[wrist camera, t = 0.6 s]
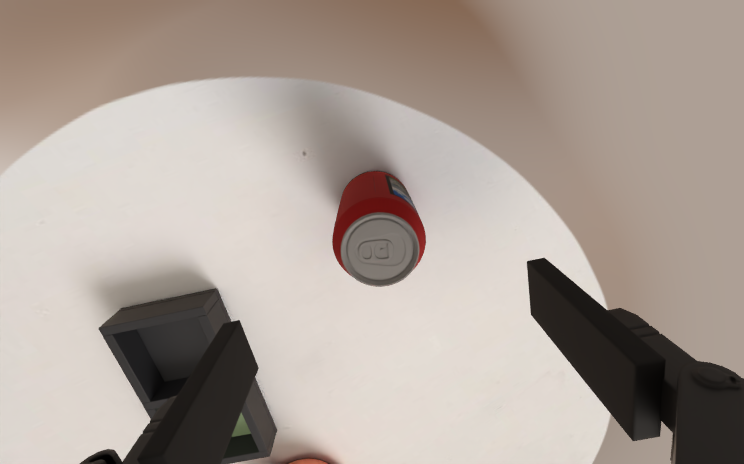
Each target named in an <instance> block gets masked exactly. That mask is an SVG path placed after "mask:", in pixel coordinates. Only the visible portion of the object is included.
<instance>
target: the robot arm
mask: <svg viewBox="0 0 744 464" xmlns="http://www.w3.org/2000/svg"><path fill="white" fill-rule="evenodd" d="M527 269H528V282H529V295H530V308H531V315H532V316H533V318H534V319H535V320H536V321H537V322H538V324H539V325H540V326H541V327H542V329H543V330H544V331H545V332H546V334H547V335H548V336H549V337H550V339H551V340H552V341H553V342H554V344H555V345H556V346H557V347H558V349H559V350H560V351H561V352H562V354H563V355H564V356H565V357H566V359H567V360H568V361H569V362H570V363H571V365H572V366H573V367H574V368H575V370H576V371H577V372H578V373H579V375H580V376H581V377H582V378H583V380H584V381H585V382H586V383H587V385H588V386H589V387H590V388H591V390H592V391H593V392H594V393H595V395H596V396H597V397H598V398H599V400H600V401H601V402H602V403H603V405H604V406H605V407H606V408H607V409H608V411H609V412H610V413H611V414H612V416H613V417H614V418H615V419H616V421H617V422H618V423H619V424H620V426H621V427H622V428H623V429H624V431H625V432H626V433H627V434H628V435H629V437H630V438H631V439H632V440H633V441H637V440H643V439H648V438H654V437H659V436H660V430H661V421H662V422H663V423H664V424H665V425H666V426H667V427H668V428H669V429H670V430H671V431H672V432H673V438H672V449H671V464H744V379H743V378H741V377H740V376H738V375H737V374H736V373H735V372H733V371H731V370H729V369H727V368H725V367H723V366H719V365H716V364H712V363H708V362H700V361H696V360H695V359H694V358H692V357H691V356H690V355H688V354H687V353H686V352H685V351H683V350H682V349H681V348H679V347H678V346H677V345H675V344H674V343H673V342H672V341H670V340H669V339H668V338H666V337H665V336H664V335H662V334H659V332H658V331H657V330H656V329H654V328H653V327H652V326H649V324H648V323H647V322H645V321H644V320H643V319H641V318H640V317H639V316H638V315H636V314H633V313H631V312H629V311H626V310H624V309H622V308H618V309H613V310H606V309H605V308H604V307H602V306H601V305H600V304H599V303H598V302H597V301H595V300H594V299H593V298H592V297H591V296H589V295H588V294H587V293H586V292H585V291H583V290H582V289H581V288H580V287H579V286H577V285H576V284H575V283H574V282H573V281H572V280H570V279H569V278H568V277H567V276H566V275H564V274H563V273H562V272H561V271H560V270H558V269H557V268H556V267H555V266H554V265H552V264H551V263H550V262H549V261H548V260H547V259H545V258H541V259H536V260H531V261H527ZM257 371H258V365H257V363H256V360H255V358H254V355H253V353H252V350H251V348H250V345H249V343H248V340H247V338H246V335H245V333H244V330H243V328H242V325H241V323H240V320H238V321H233V322H228V323H223V325H222V326H221V328H220V329H219V331H218V333H217V334H216V336H215V337H214V339H213V340H212V342H211V344H210V345H209V347H208V348H207V350H206V351H205V353H204V354H203V356H202V358H201V359H200V361H199V362H198V364H197V365H196V367H195V369H194V370H193V372H192V373H191V375H190V376H189V378H188V380H187V381H186V383H185V384H184V386H183V387H182V389H181V391H180V392H179V394H178V395H177V396H173V397H170V398H169V399H168V400H167V401H166V402H165V403H164V404H163V405H162V406H161V407H160V408H159V409H158V410H157V412H156V413H155V414H154V416H153V417H152V419H151V420H150V424H148V425H147V426H146V428H145V429H144V431H143V434H141V435H140V437H139V438H138V440H137V441H136V443H135V444H134V446H133V447H132V449H131V450H130V452H129V453H128V455H127V456H126V458H125V459H124V461H123V462H122V461H121V459H120V458H119V456H118V454H117V453H116V452H115V450H110V449H107V450H103V451H100V452H97V453H96V454H94V455H92V456H90V457H88V458H87V459H85V460H84V461H83V462H81V463H80V464H221V462H222V459H223V457H224V454H225V452H226V449H227V447H228V444H229V442H230V439H231V437H232V434H233V432H234V429H235V427H236V424H237V422H238V419H239V416H240V414H241V411H242V409H243V406H244V404H245V401H246V399H247V396H248V394H249V391H250V389H251V386H252V384H253V381H254V379H255V376H256V373H257Z"/></svg>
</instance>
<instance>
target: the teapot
mask: <svg viewBox="0 0 744 464" xmlns="http://www.w3.org/2000/svg"><path fill="white" fill-rule="evenodd" d="M288 464H328V463H326V462H324V461H321V460H317V459H301V460H296V461H293V462H291V463H288Z"/></svg>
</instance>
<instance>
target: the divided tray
mask: <svg viewBox="0 0 744 464" xmlns="http://www.w3.org/2000/svg"><path fill="white" fill-rule="evenodd" d="M228 322H231V320H230V318H229V316H228V313H227V311H226V309H225V306H224V304H223V302H222V299H221V297H220V294H219V292H218V290H217V289H212V290H208V291H203V292H198V293H193V294H189V295H184V296H179V297H174V298H169V299H165V300H160V301H155V302H150V303H146V304H141V305H136V306H131V307H126V308H122V309H120V310H119V311H118V312H117V313H116V314H114V315H113V316H112V317H111V318H110V319H109V320H107V321H106V322H105V323H104V324H103V325H102V326H101V327H99V330H100V332H101V334H102V335H103V337H104V339H105V341H106V343H107V344H108V346H109V348H110V349H111V351H112V353H113V355H114V356H115V358H116V360H117V361H118V363H119V365H120V367H121V368H122V370H123V372H124V373H125V375H126V377H127V379H128V380H129V382H130V384H131V385H132V387H133V389H134V391H135V392H136V394H137V396H138V397H139V399H140V401H141V403H142V404H143V406H144V408H145V410H146V411H147V413H148V415H149V416H150V418H151V419H152V417H153V416H154V414H155V413H156V412H157V410H158V409H159V408H160V407H161V406H162V405H163V404H164V403H165V402H166V401H167V400H168V399H169V398H170V397H173V396H177V395H178V394H179V392H180V391H181V389H182V387H183V386H184V384H185V383H186V381H187V380H188V378H189V376H190V375H191V373H192V372H193V370H194V369H195V367H196V365H197V364H198V362H199V361H200V359H201V358H202V356H203V354H204V353H205V351H206V350H207V348H208V347H209V345H210V344H211V342H212V340H213V339H214V337H215V336H216V334H217V333H218V331H219V329H220V328H221V326H222V325H223V323H228ZM276 432H277V429H276V427H275V424H274V422H273V420H272V417H271V415H270V412H269V410H268V408H267V405H266V403H265V401H264V398H263V396H262V394H261V391H260V389H259V386H258V384H257V382H256V379H254V381H253V384H252V386H251V389H250V391H249V394H248V396H247V399H246V401H245V404H244V406H243V409H242V411H241V414H240V416H239V419H238V422H237V424H236V427H235V429H234V432H233V434H232V437H231V439H230V442H229V444H228V447H227V449H226V452H225V454H224V457H223V459H222V462H221V464H230V463H235V462H241V461H247V460H252V459H258V458H263V457H269V456H270V454H271V451H272V447H273V443H274V439H275V435H276Z"/></svg>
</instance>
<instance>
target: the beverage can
mask: <svg viewBox="0 0 744 464" xmlns="http://www.w3.org/2000/svg"><path fill="white" fill-rule="evenodd" d="M332 243H333V250H334V254H335V256H336V259H337V261H338V262H339V264H340V265H341V267H342V268H343V269H344V270H345V271H346V272H347V273H348V274H349V275H351V276H352V277H354V278H355V279H356V280H358V281H359V282H361V283H364V284H366V285H370V286H376V287H382V286H389V285H393V284H395V283H398V282H400V281H401V280H403V279H404V278H406V277H407V276H408V275H409V274H410V273H411V272H412V270H413V269H414V268H415V267H416V266H417V265H418V263H419V262H420V260H421V258H422V256H423V253H424V250H425V244H426V236H425V230H424V227H423V224H422V222H421V219H420V217H419V215H418V213H417V210H416V208H415V206H414V204H413V202H412V200H411V198H410V196H409V194H408V192H407V190H406V188H405V187H404V185H403V184H402V183H401V182H400V181H399V180H398V179H397V178H396V177H394V176H392V175H390V174H388V173H385V172H380V171H371V172H366V173H363V174H361V175H359V176H357V177H355V178H354V179H353V180H352V181H351V182H350V183H349V184H348V185H347V186H346V188H345V190H344V192H343V194H342V197H341V201H340V205H339V209H338V213H337V217H336V222H335V227H334V232H333V241H332Z"/></svg>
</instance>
